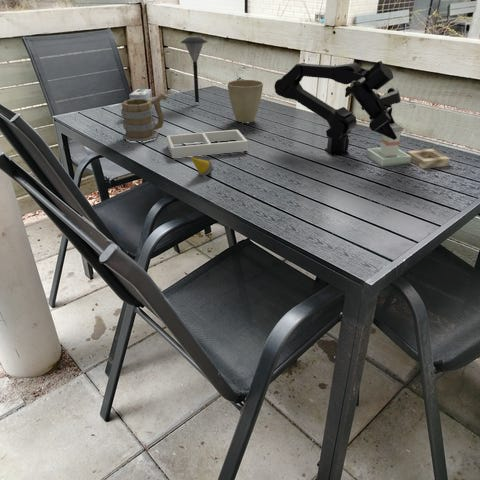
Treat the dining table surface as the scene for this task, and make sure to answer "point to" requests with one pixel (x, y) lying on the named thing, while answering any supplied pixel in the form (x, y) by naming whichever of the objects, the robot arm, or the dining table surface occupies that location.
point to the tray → (399, 160)
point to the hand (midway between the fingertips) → (396, 134)
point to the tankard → (142, 118)
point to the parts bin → (207, 143)
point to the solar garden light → (194, 57)
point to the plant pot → (245, 98)
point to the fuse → (391, 143)
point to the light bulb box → (141, 94)
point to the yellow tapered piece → (202, 166)
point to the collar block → (433, 158)
